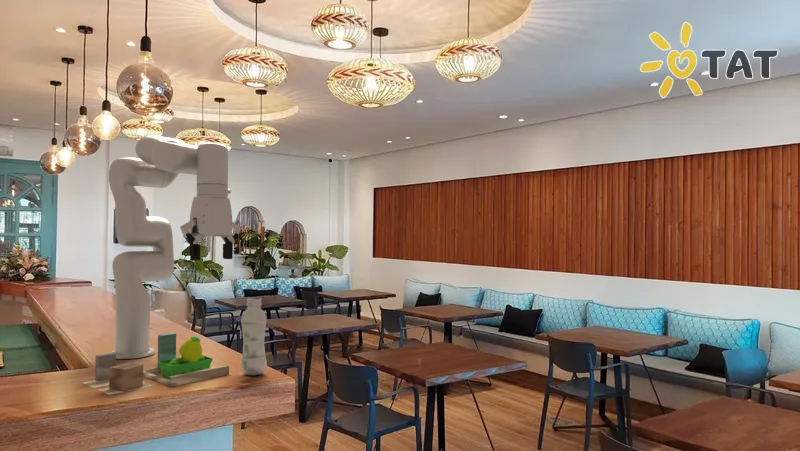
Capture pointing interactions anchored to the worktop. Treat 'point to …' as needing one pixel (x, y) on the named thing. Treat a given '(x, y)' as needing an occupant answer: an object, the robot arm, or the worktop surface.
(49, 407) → the worktop surface
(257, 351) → the plastic bottle
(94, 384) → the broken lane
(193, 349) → the fruit basket
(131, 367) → the walnut cube
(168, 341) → the wooden serving tray
